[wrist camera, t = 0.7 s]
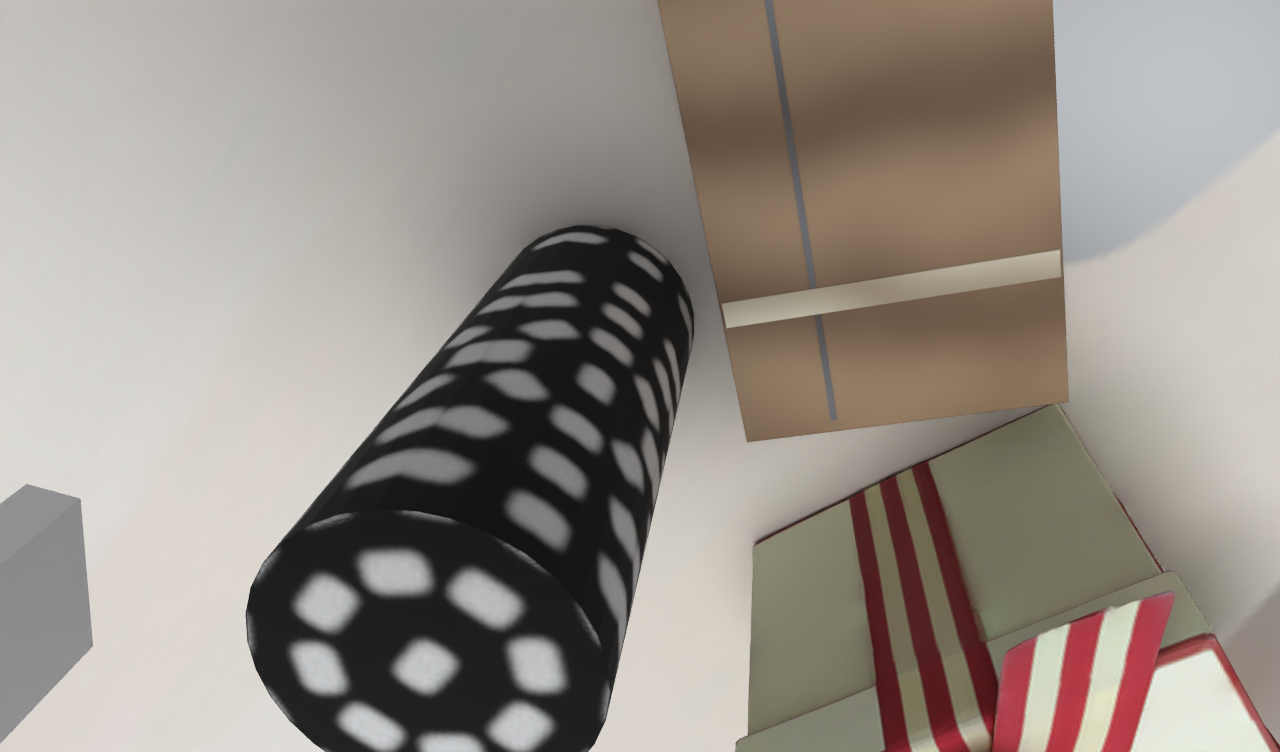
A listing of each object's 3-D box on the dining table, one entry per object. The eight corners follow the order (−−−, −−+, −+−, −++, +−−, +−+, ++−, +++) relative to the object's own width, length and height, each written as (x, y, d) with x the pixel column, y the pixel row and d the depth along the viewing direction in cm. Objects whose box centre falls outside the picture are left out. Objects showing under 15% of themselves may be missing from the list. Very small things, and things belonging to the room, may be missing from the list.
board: (611, -282, 29) (596, -300, 27) (1014, -408, 26) (1035, -440, 24) (749, 412, 39) (747, 443, 37) (1051, 372, 36) (1069, 403, 34)
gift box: (1295, 605, 39) (1621, 1038, 24) (917, 763, 46) (981, 1178, 31) (1093, 306, 35) (1333, 601, 20) (709, 530, 42) (665, 878, 27)
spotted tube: (568, 182, 36) (350, 435, 18) (735, 310, 37) (687, 663, 19) (461, 333, 39) (189, 669, 21) (616, 445, 41) (483, 849, 23)
